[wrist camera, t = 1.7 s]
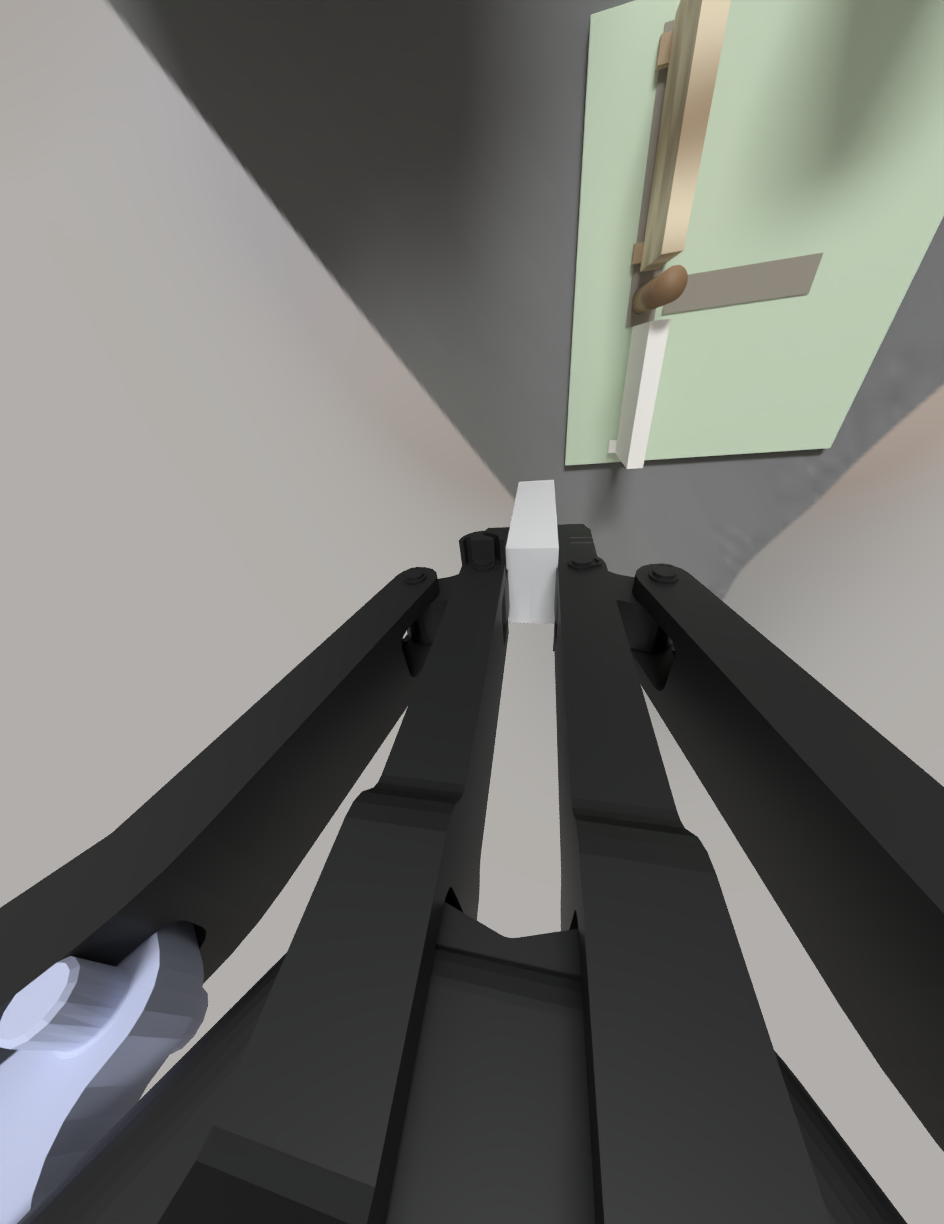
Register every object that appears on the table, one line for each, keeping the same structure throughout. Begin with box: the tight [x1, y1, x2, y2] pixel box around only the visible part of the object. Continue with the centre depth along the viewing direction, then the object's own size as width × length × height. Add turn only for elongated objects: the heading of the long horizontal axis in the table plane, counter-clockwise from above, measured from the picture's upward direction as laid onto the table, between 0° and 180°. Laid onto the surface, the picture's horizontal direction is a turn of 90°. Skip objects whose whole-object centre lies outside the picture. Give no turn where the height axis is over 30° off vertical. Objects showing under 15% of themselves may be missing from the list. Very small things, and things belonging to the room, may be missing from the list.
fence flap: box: [608, 318, 671, 469], centre depth 26 cm, size 9×2×6 cm, turn 6°
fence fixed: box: [631, 0, 731, 314], centre depth 19 cm, size 12×2×8 cm, turn 6°
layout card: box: [565, 0, 944, 466], centre depth 24 cm, size 24×22×1 cm
